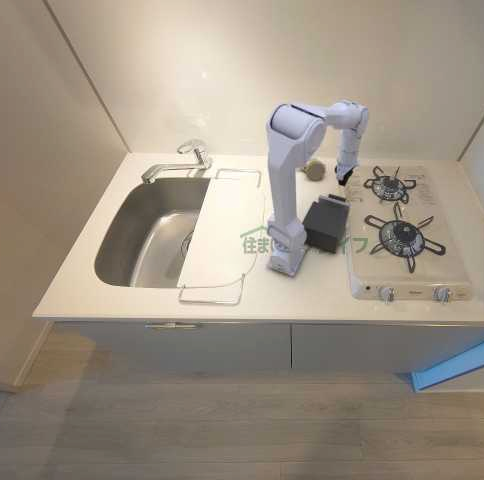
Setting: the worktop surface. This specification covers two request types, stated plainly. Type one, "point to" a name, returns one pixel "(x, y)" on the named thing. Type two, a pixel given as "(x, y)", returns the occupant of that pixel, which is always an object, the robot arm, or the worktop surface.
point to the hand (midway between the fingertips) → (343, 182)
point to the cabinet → (324, 226)
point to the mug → (314, 169)
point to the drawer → (334, 202)
